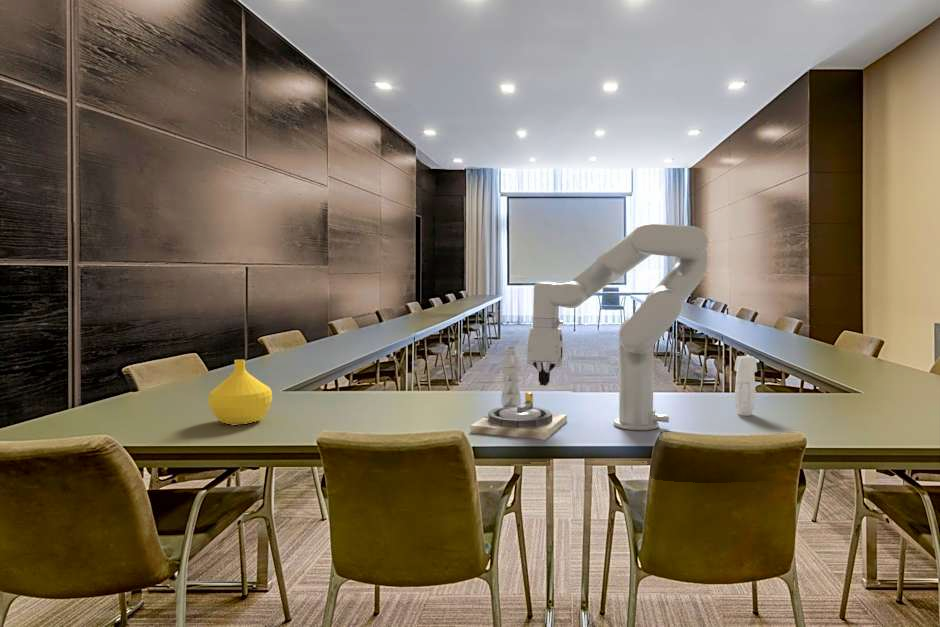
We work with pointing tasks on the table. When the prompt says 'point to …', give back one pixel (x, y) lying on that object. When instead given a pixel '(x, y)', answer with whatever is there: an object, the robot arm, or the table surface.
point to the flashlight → (745, 384)
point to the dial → (522, 410)
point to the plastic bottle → (510, 378)
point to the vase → (240, 397)
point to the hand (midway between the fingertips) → (543, 384)
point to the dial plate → (520, 431)
